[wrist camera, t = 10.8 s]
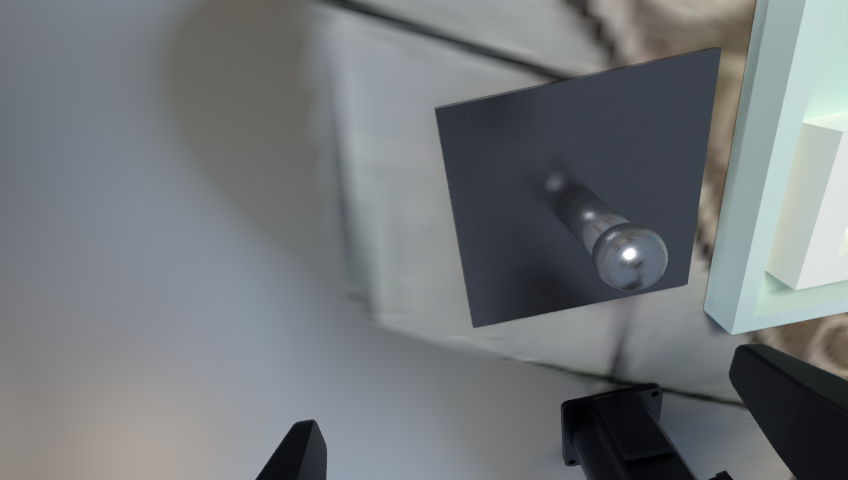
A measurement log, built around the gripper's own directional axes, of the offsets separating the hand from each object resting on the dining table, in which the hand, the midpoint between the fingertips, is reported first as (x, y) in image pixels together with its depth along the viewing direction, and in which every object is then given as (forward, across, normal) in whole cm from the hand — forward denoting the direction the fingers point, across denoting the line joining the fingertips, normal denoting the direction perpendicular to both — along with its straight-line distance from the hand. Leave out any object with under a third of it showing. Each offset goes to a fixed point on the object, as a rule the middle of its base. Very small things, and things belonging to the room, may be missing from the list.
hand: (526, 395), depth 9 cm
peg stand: (+12, -6, +2) cm, 13 cm away
